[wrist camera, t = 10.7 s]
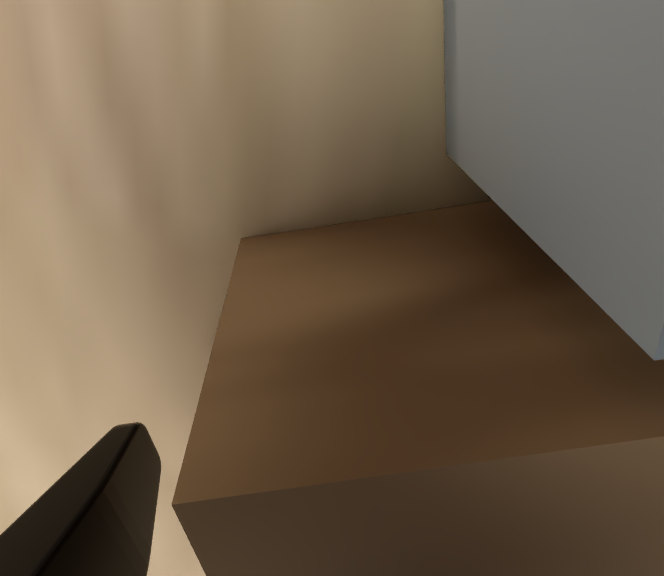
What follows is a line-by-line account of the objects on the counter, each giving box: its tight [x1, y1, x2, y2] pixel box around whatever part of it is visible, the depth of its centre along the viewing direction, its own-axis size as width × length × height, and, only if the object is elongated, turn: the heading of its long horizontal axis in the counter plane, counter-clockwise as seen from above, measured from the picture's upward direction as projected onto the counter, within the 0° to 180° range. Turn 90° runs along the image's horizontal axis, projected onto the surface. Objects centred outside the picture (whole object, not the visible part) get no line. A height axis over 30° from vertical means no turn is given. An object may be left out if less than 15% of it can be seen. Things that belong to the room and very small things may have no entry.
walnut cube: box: [172, 201, 664, 576], centre depth 7 cm, size 5×5×5 cm
